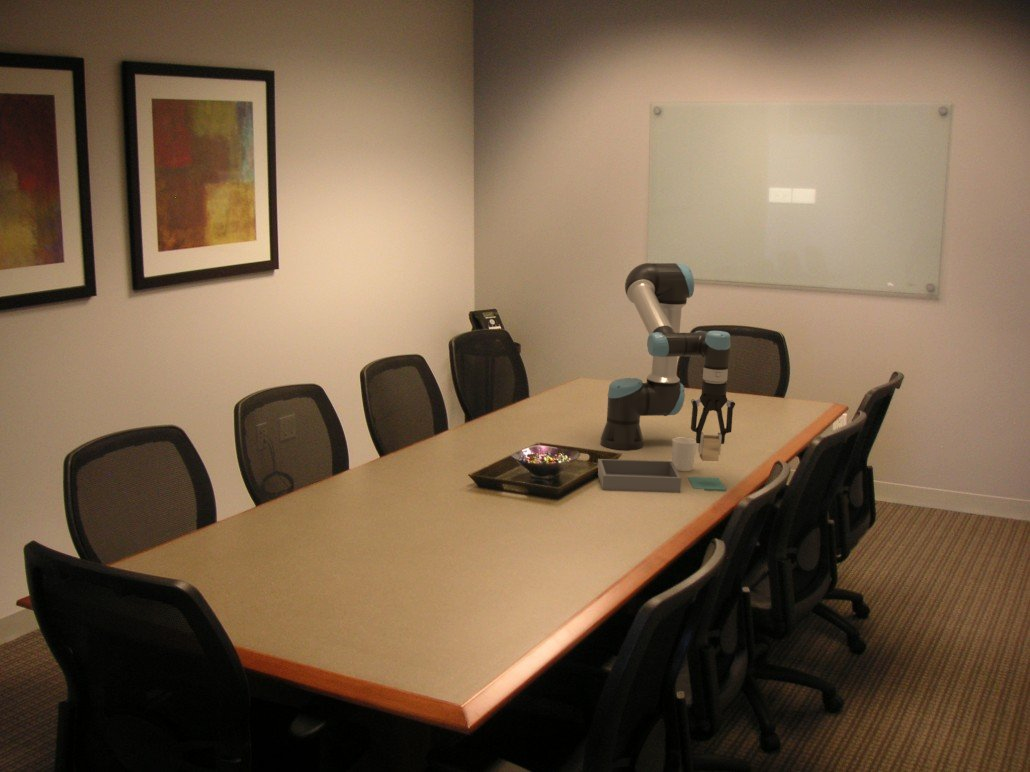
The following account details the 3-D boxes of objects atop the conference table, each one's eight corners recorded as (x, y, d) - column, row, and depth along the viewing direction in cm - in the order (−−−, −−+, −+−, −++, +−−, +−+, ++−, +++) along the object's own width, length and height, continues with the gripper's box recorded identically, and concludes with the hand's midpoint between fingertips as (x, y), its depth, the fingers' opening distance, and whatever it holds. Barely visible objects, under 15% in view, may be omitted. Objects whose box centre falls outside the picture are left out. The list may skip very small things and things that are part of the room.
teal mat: (687, 478, 354) (687, 476, 354) (718, 479, 354) (718, 477, 354) (694, 490, 342) (694, 488, 342) (725, 491, 342) (726, 489, 342)
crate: (597, 473, 355) (598, 458, 354) (671, 476, 356) (672, 461, 354) (602, 491, 337) (603, 475, 336) (680, 493, 338) (681, 478, 337)
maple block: (699, 456, 348) (701, 434, 347) (715, 456, 348) (716, 435, 347) (702, 460, 343) (704, 439, 342) (718, 461, 343) (719, 439, 342)
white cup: (693, 473, 359) (696, 444, 357) (669, 471, 360) (671, 442, 358) (694, 467, 366) (697, 438, 364) (671, 464, 368) (673, 436, 366)
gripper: (687, 382, 337) (682, 455, 342) (746, 384, 337) (740, 457, 342) (683, 377, 344) (678, 449, 349) (741, 379, 344) (735, 451, 349)
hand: (709, 453), depth 346 cm, fingers closed on maple block, 5 cm apart
